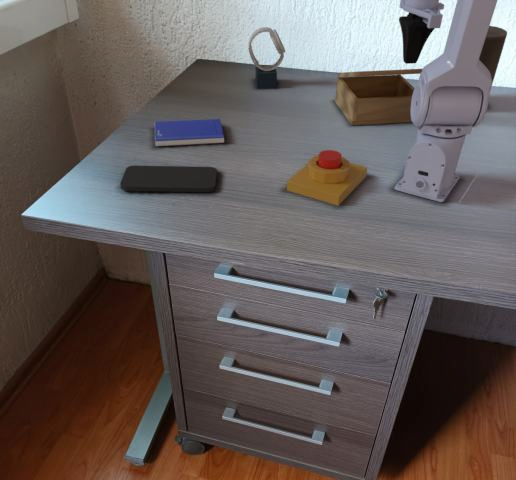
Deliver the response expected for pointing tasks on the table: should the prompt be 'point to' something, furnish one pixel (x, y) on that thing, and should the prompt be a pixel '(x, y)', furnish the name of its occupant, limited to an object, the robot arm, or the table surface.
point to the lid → (380, 73)
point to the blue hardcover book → (188, 132)
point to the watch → (267, 73)
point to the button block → (327, 181)
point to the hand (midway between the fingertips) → (409, 62)
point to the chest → (374, 99)
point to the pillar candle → (493, 49)
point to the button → (329, 159)
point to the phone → (169, 178)
